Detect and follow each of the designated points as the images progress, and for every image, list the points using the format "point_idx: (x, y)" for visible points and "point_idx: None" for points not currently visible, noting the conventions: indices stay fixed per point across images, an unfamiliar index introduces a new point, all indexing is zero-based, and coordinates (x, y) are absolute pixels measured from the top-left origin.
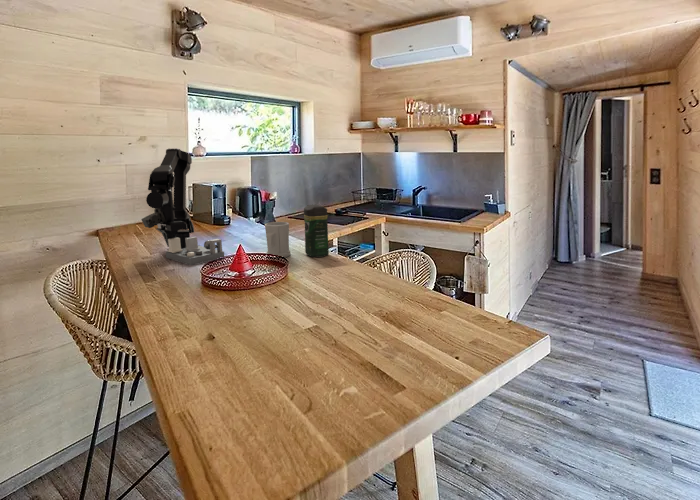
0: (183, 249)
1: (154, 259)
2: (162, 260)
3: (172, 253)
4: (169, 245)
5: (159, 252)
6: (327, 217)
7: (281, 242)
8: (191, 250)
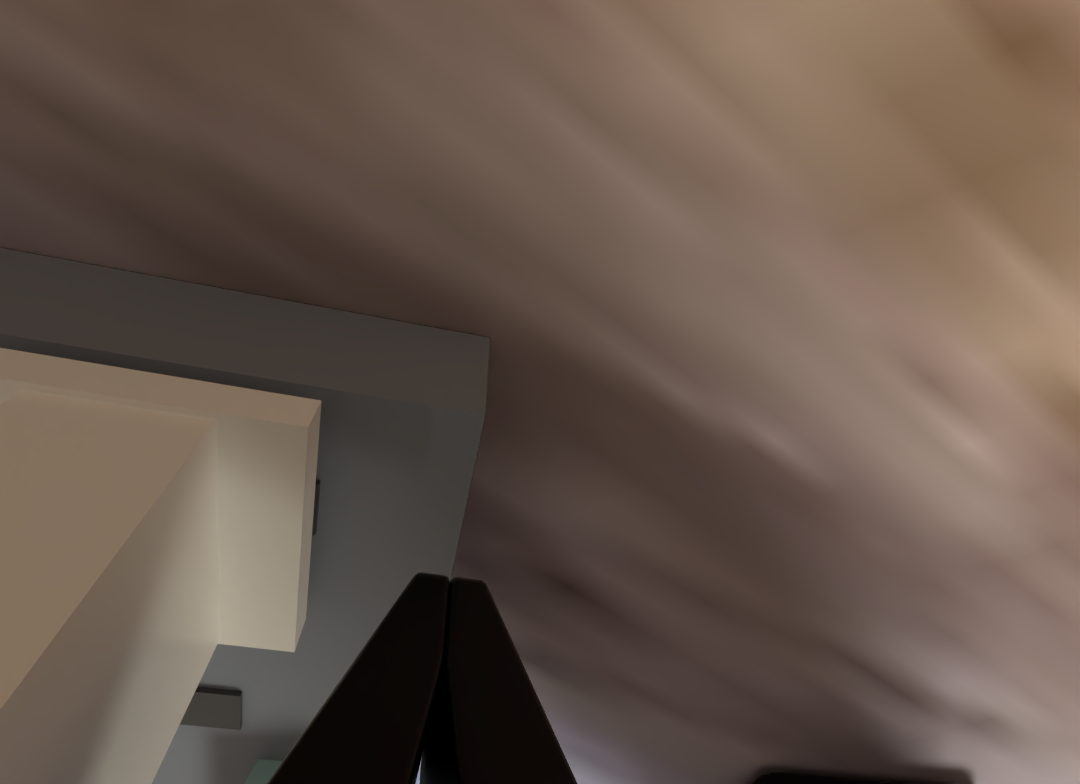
0: (287, 695)
1: (623, 99)
2: (320, 117)
3: (30, 341)
4: (49, 518)
5: (1001, 564)
6: None
7: None
8: None
